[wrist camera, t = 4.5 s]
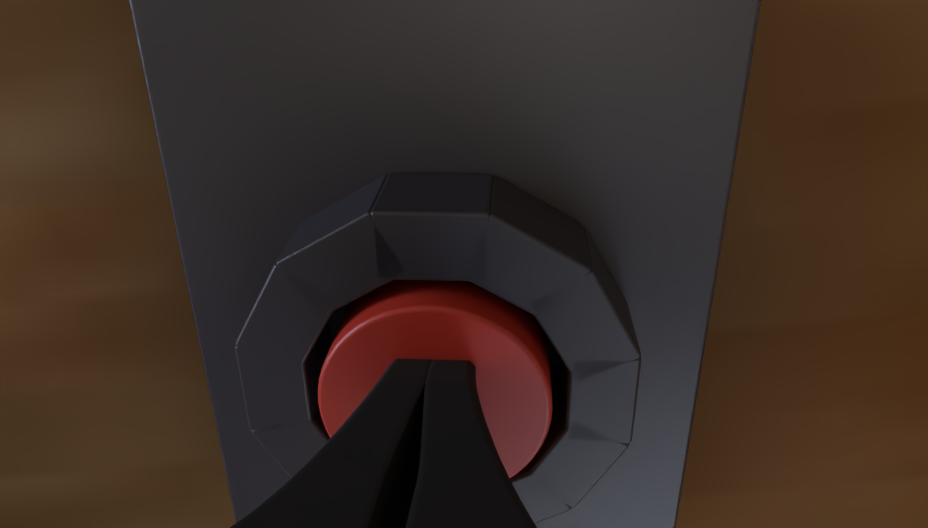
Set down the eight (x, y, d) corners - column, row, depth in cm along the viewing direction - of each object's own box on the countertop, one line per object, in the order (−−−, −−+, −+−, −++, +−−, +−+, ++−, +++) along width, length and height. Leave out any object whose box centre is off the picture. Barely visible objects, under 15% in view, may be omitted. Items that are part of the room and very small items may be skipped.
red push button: (544, 429, 15) (548, 503, 13) (350, 422, 15) (328, 494, 13) (553, 252, 13) (558, 309, 11) (333, 248, 13) (304, 304, 12)
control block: (651, 513, 19) (682, 657, 15) (270, 497, 19) (215, 632, 16) (728, -29, 13) (807, -1, 9) (180, -26, 14) (61, 1, 10)
